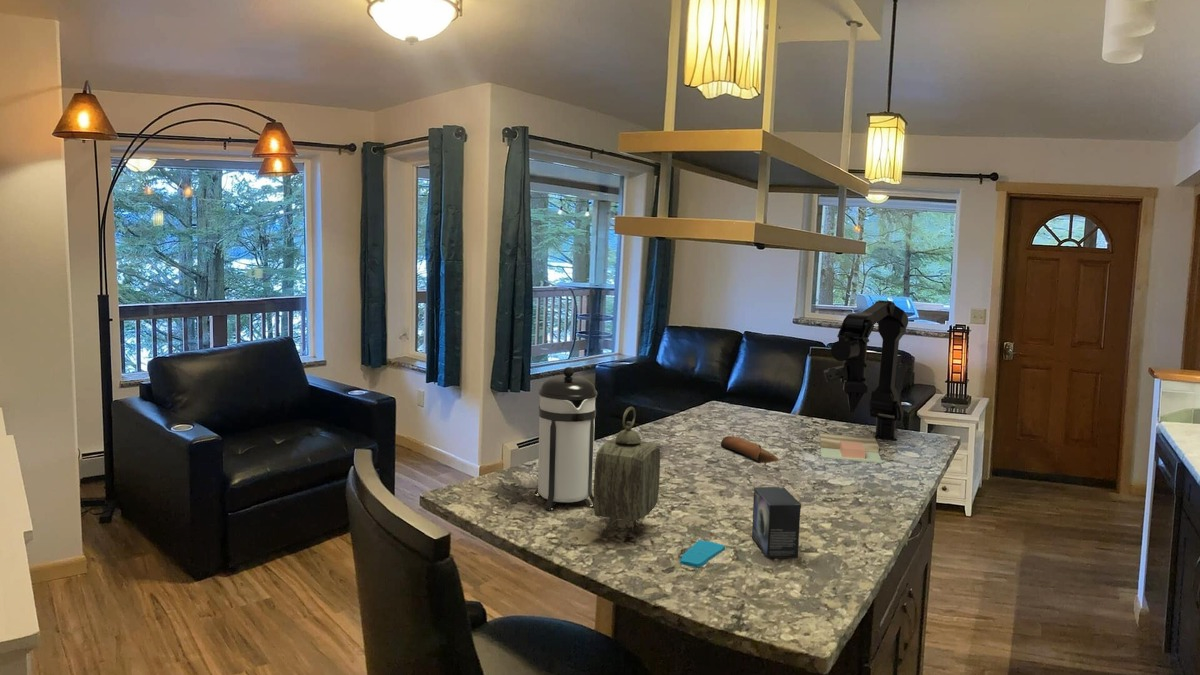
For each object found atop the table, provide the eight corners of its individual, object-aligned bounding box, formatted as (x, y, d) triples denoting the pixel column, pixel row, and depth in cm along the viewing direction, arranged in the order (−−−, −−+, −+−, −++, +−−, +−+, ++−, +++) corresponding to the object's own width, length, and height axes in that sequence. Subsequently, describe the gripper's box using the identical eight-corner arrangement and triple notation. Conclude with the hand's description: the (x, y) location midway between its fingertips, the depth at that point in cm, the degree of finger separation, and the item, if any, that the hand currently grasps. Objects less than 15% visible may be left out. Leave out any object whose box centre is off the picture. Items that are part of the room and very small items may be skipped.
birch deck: (819, 439, 237) (820, 433, 237) (874, 444, 233) (874, 437, 233) (820, 448, 225) (820, 441, 225) (878, 453, 221) (878, 447, 221)
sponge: (669, 558, 139) (698, 562, 136) (698, 539, 149) (726, 542, 146) (669, 566, 139) (698, 571, 136) (698, 546, 149) (726, 550, 146)
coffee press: (613, 497, 174) (617, 366, 170) (575, 517, 160) (579, 374, 157) (549, 484, 182) (553, 358, 179) (508, 501, 169) (511, 366, 165)
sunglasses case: (783, 460, 211) (774, 440, 209) (764, 475, 208) (755, 455, 206) (743, 444, 227) (735, 426, 225) (726, 458, 225) (717, 440, 222)
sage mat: (820, 449, 225) (820, 447, 225) (878, 454, 221) (878, 453, 221) (821, 457, 215) (821, 456, 215) (881, 463, 211) (881, 461, 211)
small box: (749, 537, 152) (752, 485, 151) (781, 537, 153) (784, 486, 152) (765, 558, 142) (768, 503, 141) (799, 558, 142) (803, 503, 141)
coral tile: (839, 449, 224) (840, 440, 223) (861, 451, 223) (861, 442, 222) (842, 457, 215) (843, 448, 215) (865, 458, 214) (865, 450, 213)
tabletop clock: (617, 516, 162) (622, 399, 159) (659, 523, 158) (664, 403, 156) (591, 539, 148) (596, 411, 145) (636, 547, 145) (641, 416, 142)
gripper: (825, 352, 231) (821, 404, 233) (827, 360, 213) (823, 415, 215) (864, 355, 229) (860, 407, 230) (869, 363, 211) (865, 419, 212)
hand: (851, 412), depth 222 cm, fingers closed
